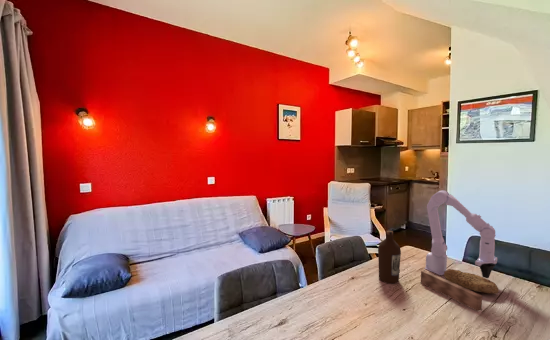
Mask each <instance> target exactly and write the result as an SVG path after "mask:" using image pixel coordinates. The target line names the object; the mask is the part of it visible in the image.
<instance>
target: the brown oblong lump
mask: <svg viewBox="0 0 550 340" xmlns="http://www.w3.org/2000/svg"><path fill="white" fill-rule="evenodd" d="M443 276H444V279H445V280H448V281H450V282H452V283H454V284H457V285H459V286H461V287H464V288H466V289H468V290H470V291H473V292H475V293H477V292H478V293H484V294H498V293H499V287H498V285H496V283H495V282H494V281H492V280H489V278H485V277H483V276H480V275H478V274H475V273H471V272H463V271H462V270H456V269H451V268H447V269H446V271H445V272H444V275H443Z"/></svg>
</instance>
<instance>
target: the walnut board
mask: <svg viewBox="0 0 550 340" xmlns="http://www.w3.org/2000/svg"><path fill="white" fill-rule="evenodd" d="M420 284H422V285H424V286H427V287H428V288H430V289H432V290H434V291H436V292H438V293H441V294H442V295H445V296H446V297H449V298H450V299H453V300H454V301H457V302H459V303H461V304H462V305H465V306H466V307H469V308H471V309H472V310H475V311H477V312H480V311H482V307H483V295H481V294H480V293H477V292H476V291H473V290H469V289H466V288H464V287H461V286H459V285H457V284H454V283H452V282H450V281H448V280H446V278H443V277H441V276H440V275H439V276H438V275H437V274H435V273H434V274H433V272H431V271H428V270H426V269H424V270H421V271H420Z"/></svg>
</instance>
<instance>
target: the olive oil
mask: <svg viewBox="0 0 550 340" xmlns="http://www.w3.org/2000/svg"><path fill="white" fill-rule="evenodd" d="M377 253H378V255H377V256H378V259H377V260H378V261H377V262H378V279H379V280H380V281H381V282H383V283H386V284H389V285H390V284H397V283H399V280H400V274H401V273H400V272H401V270H400V267H401V257H402V256H401V255H402V251H401V247H400V245H399V244H398V243H397V242H396V240H394V231H393V230H386V233H385V239H384V240H382V241H381V242H380V243H379V244H378V247H377Z"/></svg>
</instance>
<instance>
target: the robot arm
mask: <svg viewBox="0 0 550 340" xmlns="http://www.w3.org/2000/svg"><path fill="white" fill-rule="evenodd" d="M443 204H445V206H449V207H453V208H454V209H455V210H457V211H458V212H459V213H460V214H461V215H462V216H464V217H465V221H466V223H468V224H469V225H470V226H471V227H472V228H473V229H474V230H475V231H476V232H479V236H480V240H479V256H478V258H477V260H475V261H474V265H475V266H478V267H479V269H480V272H481V277H483V278H485V279H489V278H490V276H491V273H492V272H493V269H494V268H495V267H496V264H497V263H498V257H496V256H495V247H496V243H495V241H496V239H495V238H496V237H497V236H496V235H497V234H496V228H494V226H493V225H491V224H490V223H489V222H486V221H485V220H484V219H483V218H482V216H481V215H480V214H477V213H472V212H471V211H470V210H469V209H468V208H467V207H465V205H463V204H462V202H460V201H459V200H458V199H457V198H456V197H454V195H452V194H450V193H449V192H448V191H447V190H445V189H442V190H438V191H437V192H435V193H434V194H432V195H431V196H430V199H429V201H428V203H427V205H426V211H427V217H428V221H429V226H430V227H429V228H430V232H431V239H432V240H431V249H430V252H428V253H426V256H425V267H424V270H426V271H428V272H430V273H434V274H435V275H437V276H438V275H439V276H444V272H445V271H446V270H448V268H447V267H448V265H447V263H448V255H447V253H446V252H447V250H448V245H447V244H446V242H445V239H444V237H443V231H442V226H441V221H440V215H439V210H438V209H439V207H440V206H441V205H443Z"/></svg>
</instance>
